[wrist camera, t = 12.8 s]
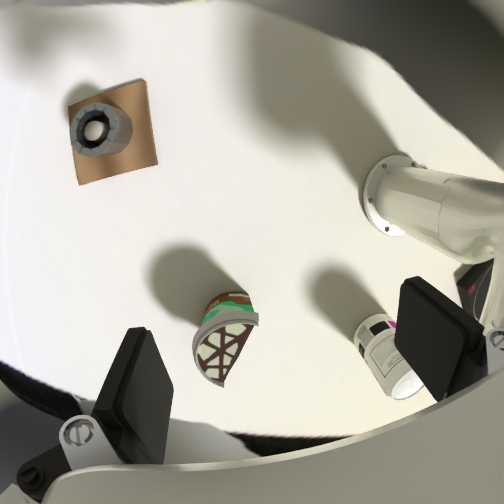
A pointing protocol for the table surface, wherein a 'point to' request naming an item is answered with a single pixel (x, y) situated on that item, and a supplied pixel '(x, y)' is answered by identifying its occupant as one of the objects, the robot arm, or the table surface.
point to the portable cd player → (475, 288)
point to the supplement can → (386, 357)
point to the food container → (223, 335)
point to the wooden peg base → (132, 156)
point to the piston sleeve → (116, 138)
